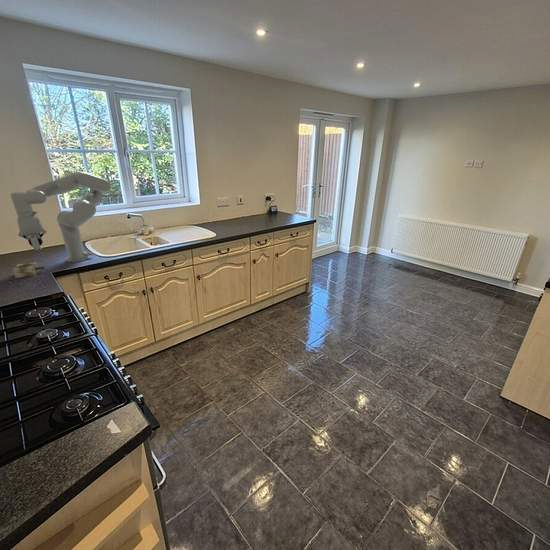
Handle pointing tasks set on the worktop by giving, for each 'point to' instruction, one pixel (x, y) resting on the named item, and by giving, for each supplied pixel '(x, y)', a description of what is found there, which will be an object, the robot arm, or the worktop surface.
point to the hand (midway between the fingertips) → (36, 245)
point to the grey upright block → (35, 241)
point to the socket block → (26, 269)
